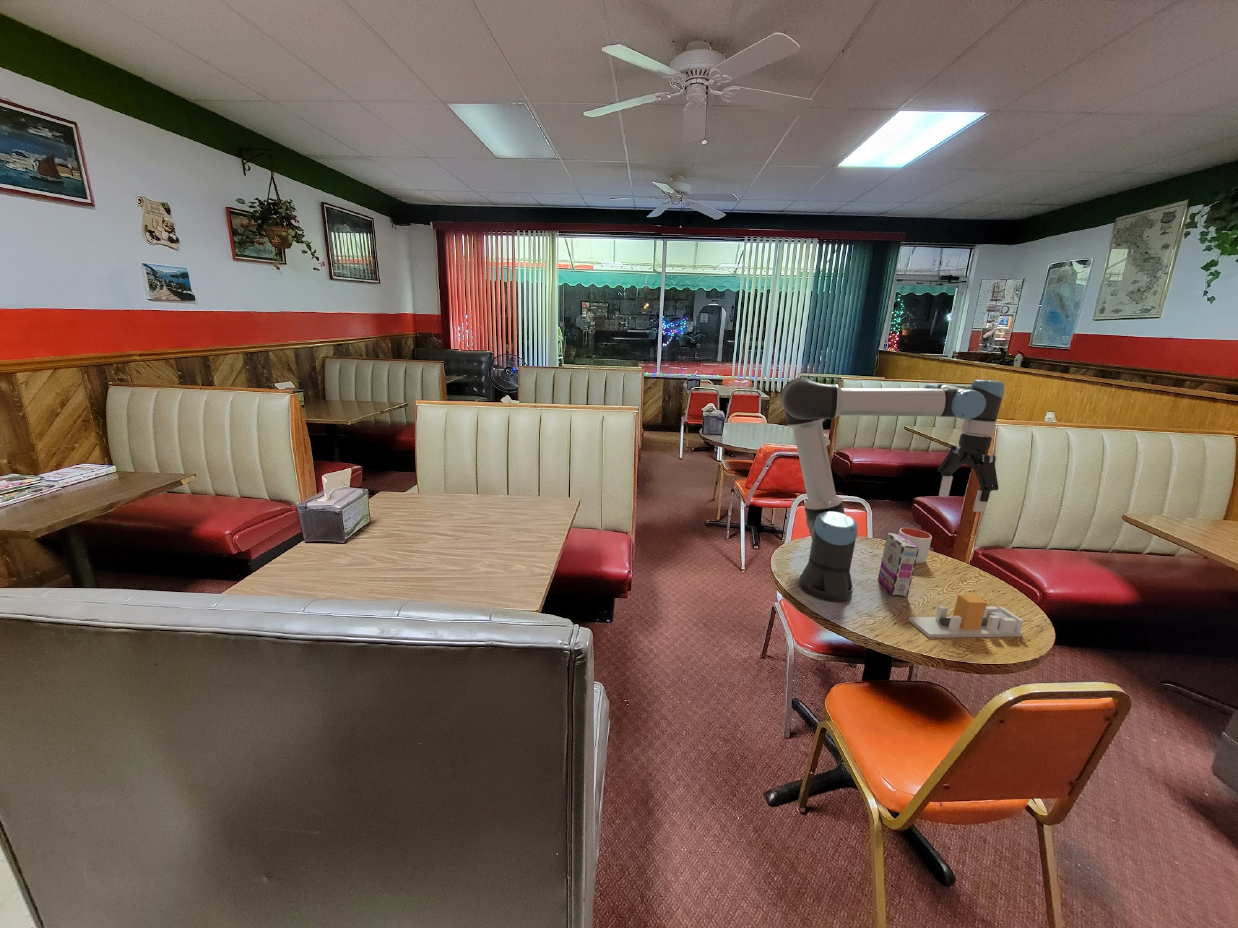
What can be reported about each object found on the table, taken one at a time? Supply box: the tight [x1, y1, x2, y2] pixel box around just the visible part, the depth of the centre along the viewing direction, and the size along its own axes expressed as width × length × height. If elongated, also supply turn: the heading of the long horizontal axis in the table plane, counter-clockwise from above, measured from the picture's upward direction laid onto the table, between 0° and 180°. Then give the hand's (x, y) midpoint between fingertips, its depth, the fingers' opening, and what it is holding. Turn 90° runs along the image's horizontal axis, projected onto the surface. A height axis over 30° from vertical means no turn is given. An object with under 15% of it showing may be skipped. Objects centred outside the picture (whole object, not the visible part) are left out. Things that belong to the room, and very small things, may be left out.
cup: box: [898, 527, 933, 565], centre depth 175 cm, size 10×10×10 cm
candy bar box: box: [877, 532, 919, 598], centre depth 151 cm, size 11×5×16 cm, turn 174°
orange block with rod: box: [940, 594, 1009, 629], centre depth 132 cm, size 18×4×8 cm, turn 95°
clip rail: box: [908, 605, 1024, 639], centre depth 132 cm, size 27×8×5 cm, turn 95°
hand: (959, 503), depth 147 cm, fingers open, 13 cm apart
